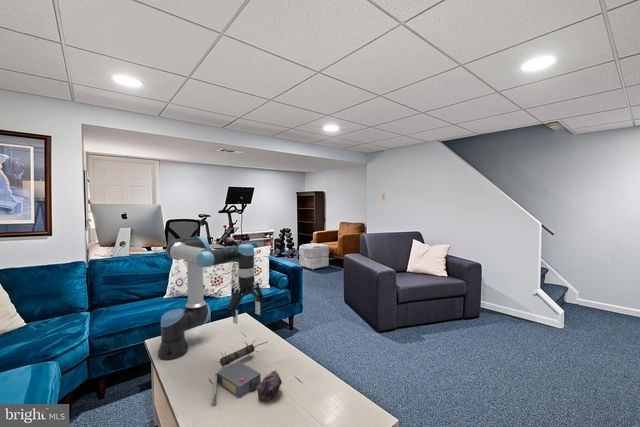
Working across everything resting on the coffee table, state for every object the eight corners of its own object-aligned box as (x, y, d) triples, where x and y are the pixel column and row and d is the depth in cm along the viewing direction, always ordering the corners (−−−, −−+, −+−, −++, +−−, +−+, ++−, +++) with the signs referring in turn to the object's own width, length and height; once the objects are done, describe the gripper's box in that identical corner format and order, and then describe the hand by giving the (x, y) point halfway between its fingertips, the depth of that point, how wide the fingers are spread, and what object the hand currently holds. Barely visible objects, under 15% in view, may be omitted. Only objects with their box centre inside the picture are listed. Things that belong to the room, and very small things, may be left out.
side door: (214, 383, 131) (214, 373, 131) (217, 382, 131) (217, 373, 131) (212, 405, 117) (212, 394, 116) (216, 404, 117) (215, 394, 117)
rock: (255, 401, 121) (274, 408, 117) (252, 384, 119) (272, 390, 115) (270, 381, 131) (288, 387, 127) (268, 365, 130) (286, 370, 126)
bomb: (220, 350, 138) (268, 329, 160) (211, 354, 144) (259, 333, 166) (226, 374, 134) (275, 349, 157) (217, 376, 141) (265, 352, 163)
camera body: (216, 383, 131) (216, 371, 131) (238, 370, 141) (238, 359, 141) (241, 399, 120) (241, 386, 120) (263, 385, 130) (262, 373, 130)
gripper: (229, 283, 124) (229, 329, 125) (270, 272, 144) (270, 312, 145) (219, 280, 129) (220, 325, 130) (260, 269, 149) (261, 308, 150)
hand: (247, 318), depth 138 cm, fingers open, 13 cm apart
